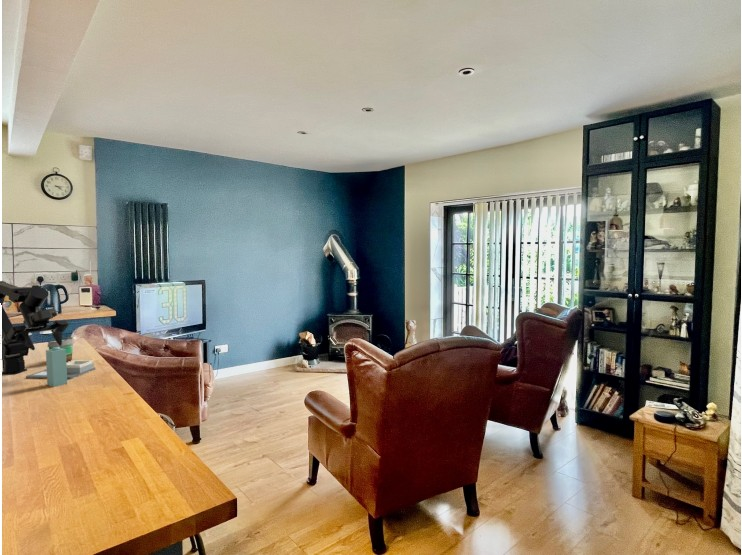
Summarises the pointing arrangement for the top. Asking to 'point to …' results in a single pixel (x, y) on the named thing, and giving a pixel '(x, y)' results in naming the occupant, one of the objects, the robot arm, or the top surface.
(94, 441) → the top surface
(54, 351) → the pillar
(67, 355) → the food container
